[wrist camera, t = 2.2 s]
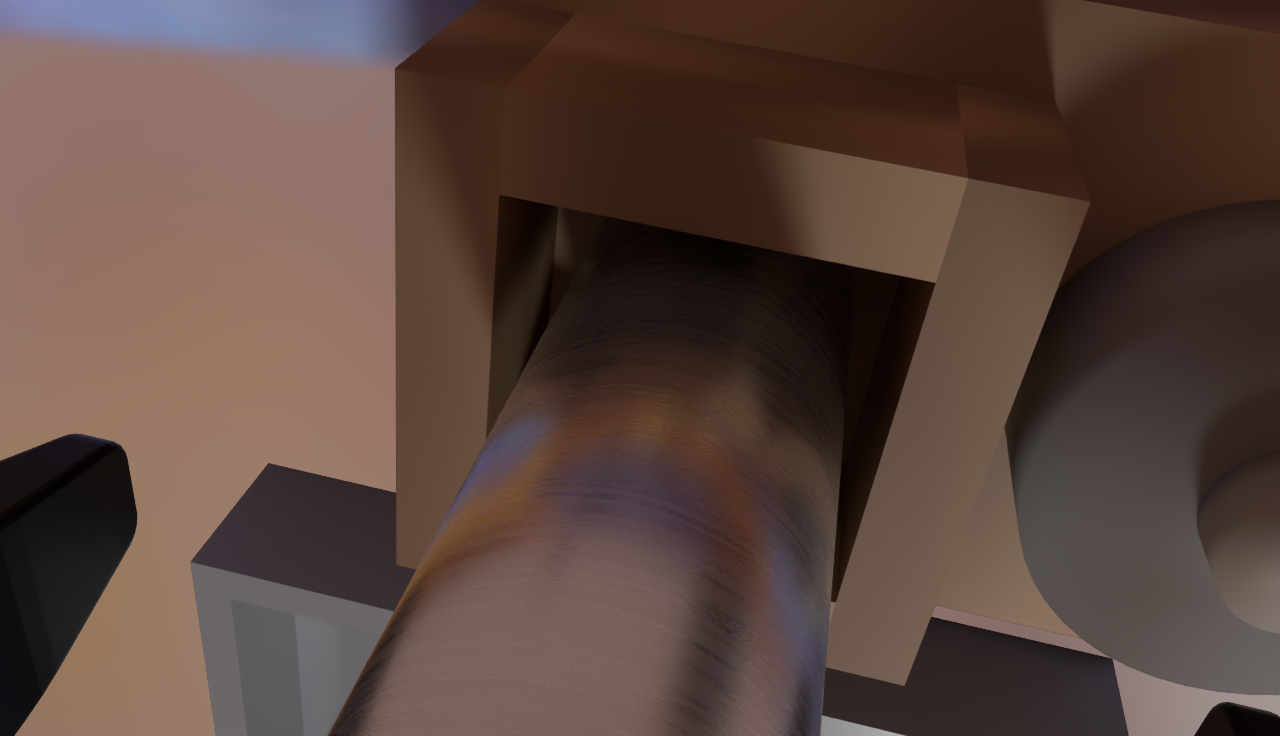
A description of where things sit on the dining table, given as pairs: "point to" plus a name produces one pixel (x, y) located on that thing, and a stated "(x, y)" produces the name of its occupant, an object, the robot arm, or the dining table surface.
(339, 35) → the dining table surface
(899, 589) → the block
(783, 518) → the pin
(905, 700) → the tray
